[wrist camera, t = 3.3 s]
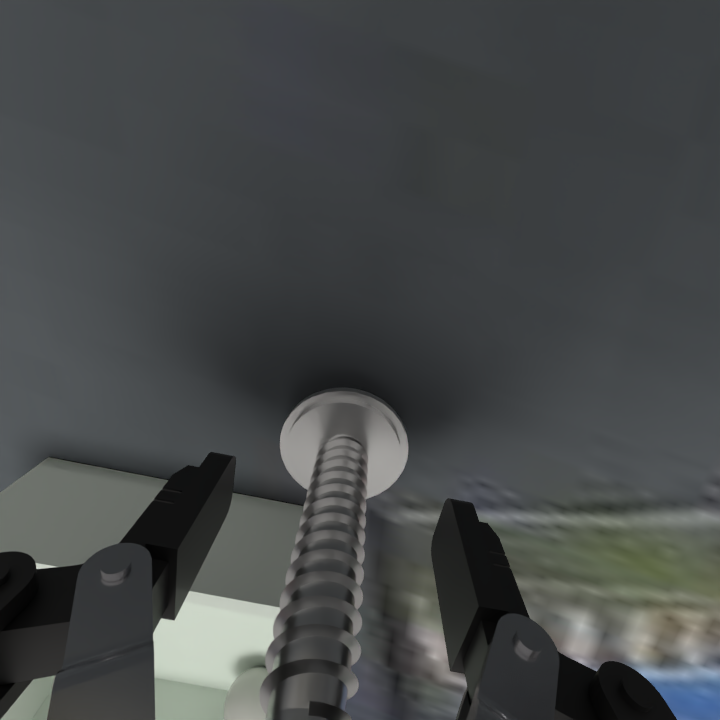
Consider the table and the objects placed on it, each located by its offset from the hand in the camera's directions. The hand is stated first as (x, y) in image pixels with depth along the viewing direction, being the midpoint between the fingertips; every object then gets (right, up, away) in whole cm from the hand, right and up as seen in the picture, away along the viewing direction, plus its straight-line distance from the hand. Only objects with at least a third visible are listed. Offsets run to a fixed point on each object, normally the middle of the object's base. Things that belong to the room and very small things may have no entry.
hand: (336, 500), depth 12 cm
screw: (0, +2, +5) cm, 5 cm away
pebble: (-5, -13, +10) cm, 17 cm away
